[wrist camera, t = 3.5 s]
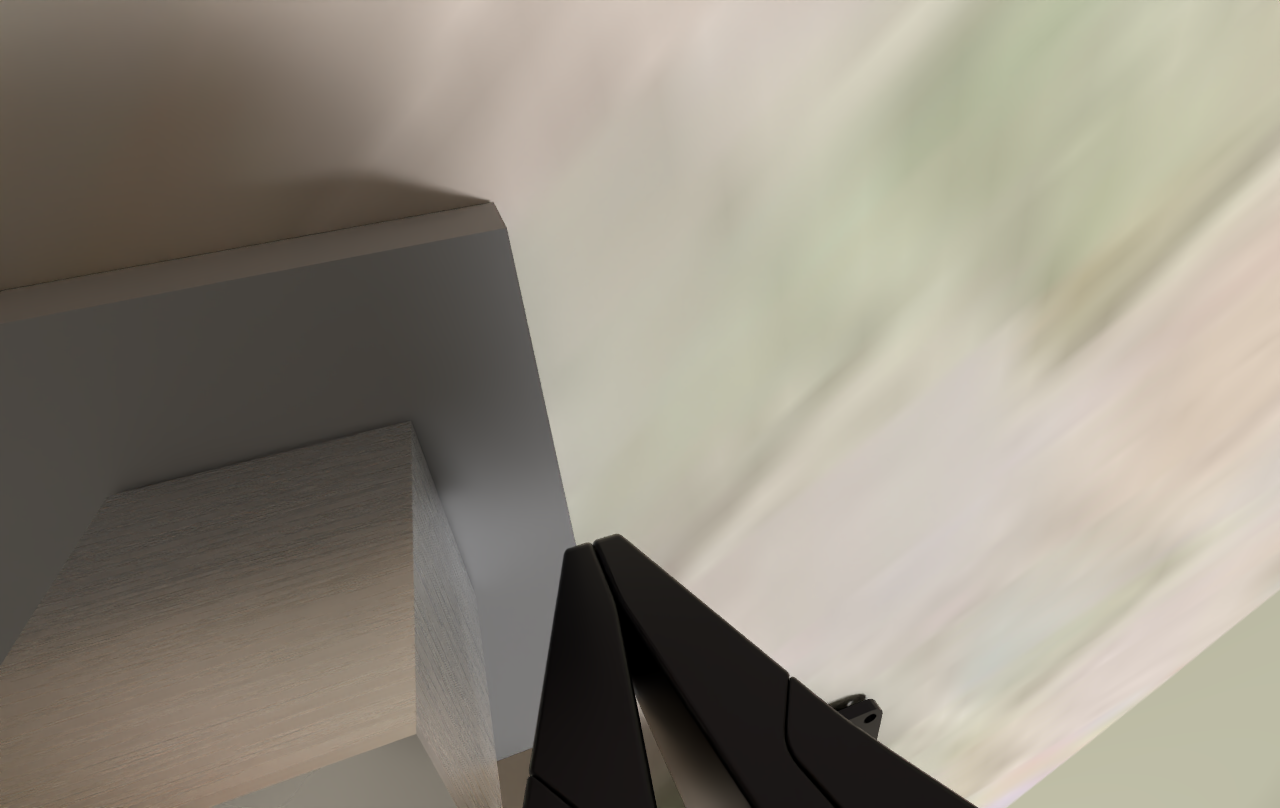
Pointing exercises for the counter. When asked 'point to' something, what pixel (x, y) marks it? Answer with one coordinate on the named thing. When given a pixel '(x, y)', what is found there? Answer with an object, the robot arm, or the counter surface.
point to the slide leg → (258, 646)
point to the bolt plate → (295, 404)
